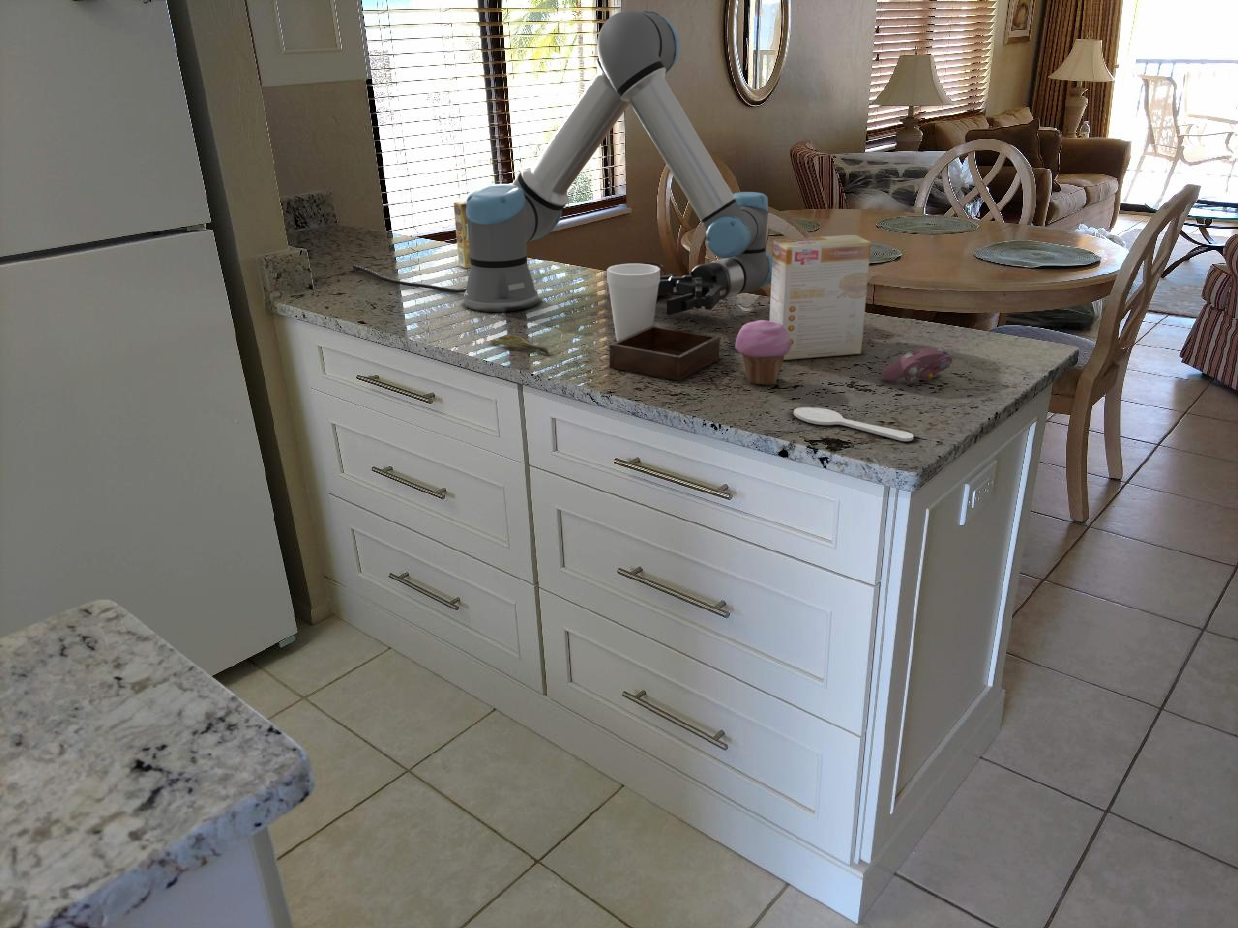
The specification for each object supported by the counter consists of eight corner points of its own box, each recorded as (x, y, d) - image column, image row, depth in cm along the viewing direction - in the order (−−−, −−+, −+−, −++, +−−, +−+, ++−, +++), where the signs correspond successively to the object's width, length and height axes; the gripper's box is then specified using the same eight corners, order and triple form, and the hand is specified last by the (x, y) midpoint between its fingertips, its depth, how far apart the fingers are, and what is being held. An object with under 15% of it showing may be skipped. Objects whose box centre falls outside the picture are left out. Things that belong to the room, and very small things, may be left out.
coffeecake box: (844, 343, 172) (854, 233, 164) (862, 354, 166) (873, 241, 158) (766, 349, 170) (772, 238, 162) (780, 361, 163) (787, 246, 155)
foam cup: (654, 348, 171) (654, 276, 165) (603, 346, 172) (602, 274, 167) (662, 333, 179) (663, 264, 174) (614, 331, 181) (613, 262, 176)
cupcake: (788, 391, 149) (792, 329, 145) (732, 389, 151) (734, 327, 146) (789, 373, 157) (792, 314, 153) (736, 371, 159) (738, 312, 154)
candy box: (465, 269, 232) (460, 204, 225) (458, 266, 235) (452, 202, 229) (498, 264, 236) (494, 200, 230) (489, 261, 239) (485, 198, 233)
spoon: (904, 445, 129) (904, 442, 128) (786, 416, 139) (786, 413, 139) (920, 433, 132) (920, 430, 132) (803, 406, 143) (804, 403, 142)
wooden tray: (609, 367, 161) (609, 344, 160) (651, 347, 172) (651, 325, 170) (679, 381, 154) (680, 357, 153) (719, 359, 165) (720, 336, 163)
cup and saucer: (632, 285, 214) (632, 258, 212) (682, 291, 209) (682, 262, 207) (608, 298, 204) (608, 269, 202) (660, 303, 199) (660, 274, 197)
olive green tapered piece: (543, 357, 167) (543, 346, 166) (488, 348, 174) (487, 337, 173) (558, 351, 170) (558, 340, 169) (503, 342, 177) (502, 332, 176)
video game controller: (893, 396, 151) (910, 363, 146) (878, 376, 154) (895, 343, 149) (943, 387, 155) (961, 355, 150) (927, 367, 157) (945, 335, 152)
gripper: (765, 311, 181) (691, 334, 167) (667, 289, 197) (593, 309, 184) (767, 271, 178) (692, 292, 164) (668, 253, 194) (592, 270, 181)
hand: (640, 301), depth 174 cm, fingers open, 13 cm apart
